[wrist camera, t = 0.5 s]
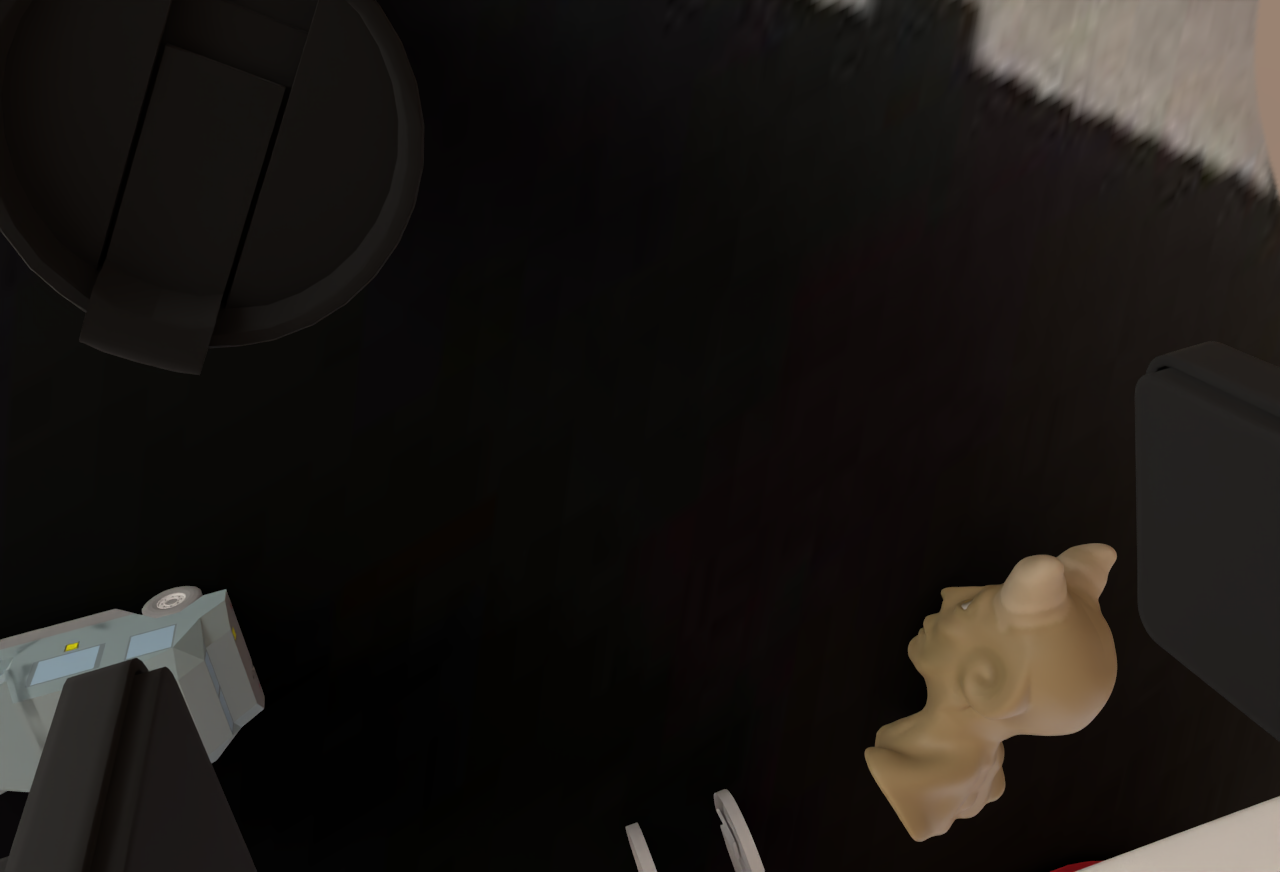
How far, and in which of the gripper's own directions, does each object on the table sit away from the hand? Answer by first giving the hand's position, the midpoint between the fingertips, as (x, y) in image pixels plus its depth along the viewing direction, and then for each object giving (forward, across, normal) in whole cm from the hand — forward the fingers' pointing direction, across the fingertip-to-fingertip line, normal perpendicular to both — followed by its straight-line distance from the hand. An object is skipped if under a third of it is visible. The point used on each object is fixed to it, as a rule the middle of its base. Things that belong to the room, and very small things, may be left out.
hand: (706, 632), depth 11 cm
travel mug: (+29, +4, -4) cm, 29 cm away
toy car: (+29, +15, +15) cm, 35 cm away
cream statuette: (+29, -16, +24) cm, 41 cm away
